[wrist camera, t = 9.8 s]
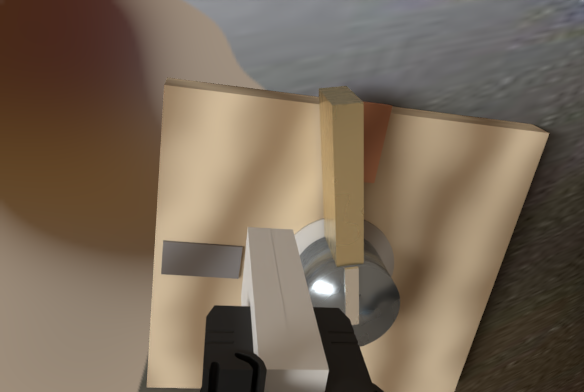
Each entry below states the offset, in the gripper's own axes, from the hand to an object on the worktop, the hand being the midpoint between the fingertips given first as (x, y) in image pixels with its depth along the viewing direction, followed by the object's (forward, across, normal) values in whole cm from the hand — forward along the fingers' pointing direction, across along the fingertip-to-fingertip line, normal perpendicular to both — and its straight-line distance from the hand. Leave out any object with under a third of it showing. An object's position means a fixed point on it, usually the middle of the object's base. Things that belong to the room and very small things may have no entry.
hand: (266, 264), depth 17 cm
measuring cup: (+14, -6, +4) cm, 16 cm away
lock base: (+17, -7, +9) cm, 20 cm away
